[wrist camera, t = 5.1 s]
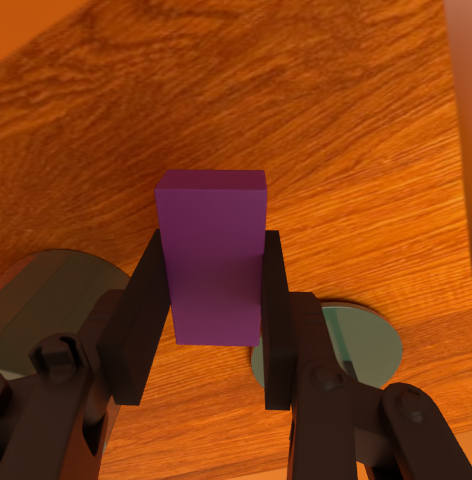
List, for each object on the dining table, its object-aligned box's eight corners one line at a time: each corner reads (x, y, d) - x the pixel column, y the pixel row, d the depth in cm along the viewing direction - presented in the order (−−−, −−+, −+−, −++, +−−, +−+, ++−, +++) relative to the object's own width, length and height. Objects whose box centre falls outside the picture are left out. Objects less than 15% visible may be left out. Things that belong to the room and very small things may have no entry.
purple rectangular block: (167, 168, 13) (152, 188, 11) (264, 169, 13) (267, 189, 11) (184, 312, 17) (176, 345, 15) (258, 314, 17) (259, 347, 15)
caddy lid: (252, 295, 26) (255, 388, 19) (416, 298, 26) (483, 393, 19) (249, 393, 33) (250, 490, 26) (378, 396, 33) (416, 494, 25)
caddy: (-19, 248, 24) (-173, 360, 15) (138, 250, 24) (73, 365, 15) (34, 354, 31) (-54, 478, 22) (158, 357, 30) (122, 483, 21)
